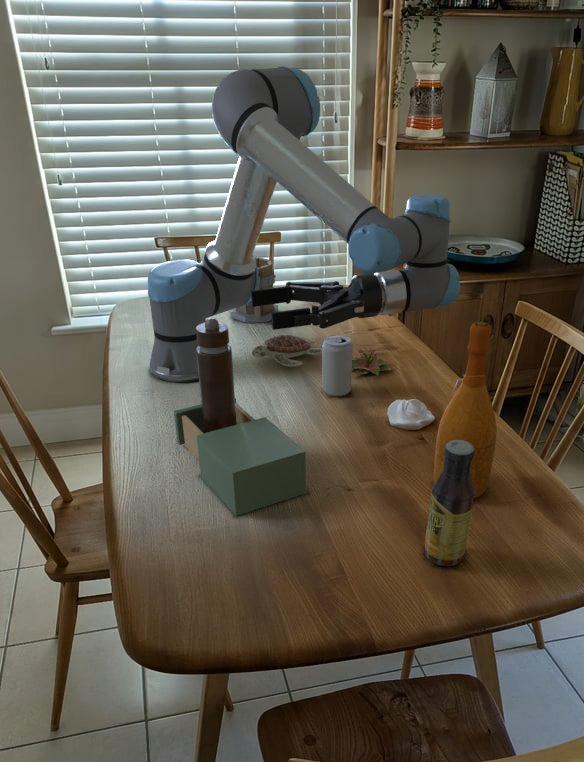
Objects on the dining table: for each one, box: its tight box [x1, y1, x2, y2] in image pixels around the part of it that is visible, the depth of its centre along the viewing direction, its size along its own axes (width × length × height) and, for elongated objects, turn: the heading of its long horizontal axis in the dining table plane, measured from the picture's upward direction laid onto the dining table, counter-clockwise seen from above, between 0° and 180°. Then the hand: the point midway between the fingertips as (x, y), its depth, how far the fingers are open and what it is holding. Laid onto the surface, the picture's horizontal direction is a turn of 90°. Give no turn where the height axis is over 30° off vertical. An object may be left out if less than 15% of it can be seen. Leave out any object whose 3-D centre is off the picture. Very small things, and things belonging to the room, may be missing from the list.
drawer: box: [173, 397, 256, 462], centre depth 135 cm, size 15×12×7 cm
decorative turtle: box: [251, 334, 322, 367], centre depth 174 cm, size 18×17×5 cm
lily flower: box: [352, 346, 393, 377], centre depth 169 cm, size 12×12×5 cm
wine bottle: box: [433, 321, 498, 499], centre depth 120 cm, size 10×10×30 cm
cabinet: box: [197, 416, 307, 517], centre depth 126 cm, size 14×13×8 cm
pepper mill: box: [196, 317, 237, 433], centre depth 129 cm, size 6×6×24 cm
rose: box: [387, 398, 436, 431], centre depth 148 cm, size 10×4×10 cm
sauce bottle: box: [424, 440, 475, 567], centre depth 107 cm, size 7×6×20 cm
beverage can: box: [321, 334, 353, 397], centre depth 157 cm, size 6×6×12 cm
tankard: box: [230, 256, 279, 324], centre depth 192 cm, size 20×13×15 cm, turn 6°
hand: (261, 309), depth 125 cm, fingers open, 13 cm apart
